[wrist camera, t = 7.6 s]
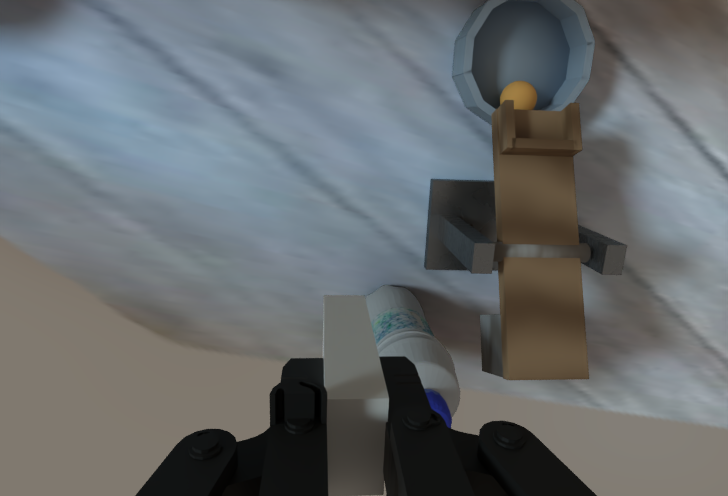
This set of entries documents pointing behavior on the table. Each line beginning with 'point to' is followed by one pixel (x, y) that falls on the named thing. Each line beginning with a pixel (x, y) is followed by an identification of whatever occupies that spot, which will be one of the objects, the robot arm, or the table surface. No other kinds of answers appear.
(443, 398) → the bottle
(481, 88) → the bowl
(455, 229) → the fulcrum
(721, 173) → the table surface
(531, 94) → the ball
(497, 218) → the lever
